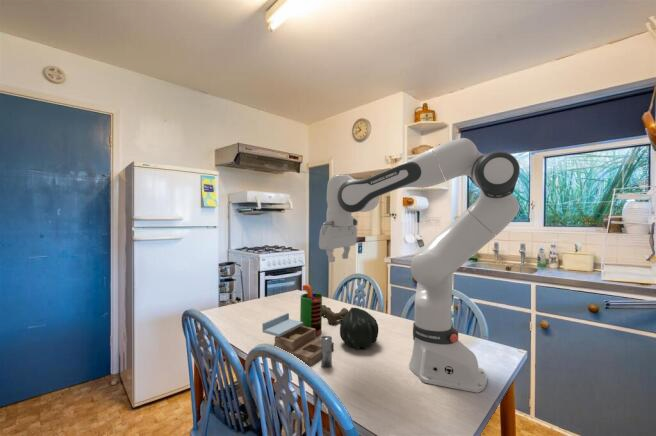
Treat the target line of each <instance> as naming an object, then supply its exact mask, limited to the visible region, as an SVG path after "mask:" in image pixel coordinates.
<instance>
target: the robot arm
mask: <svg viewBox="0 0 656 436" xmlns="http://www.w3.org/2000/svg"><path fill="white" fill-rule="evenodd" d="M520 169H521V168H520V164H519V161H518V160H517V158H516V157H515V156H514V155H513V154H511V153H508V152H506V151H503V150H495V151H494V150H493V151H491V152H489V153H483V152H482V153H481V152H480V150H478V147H477V145H476V144H475V143H474V142H473V141H472V140H471V139H469V138H466V137H462V138H457V139H453V140H449V141H446V142H444V143H441V144H439V145H436V146H434V147H432V148H428V149H427V150H425V151H423V152H421V153H419V154H418V155H416V156H414V157H413V158H410V159H409V160H407V161H405V162H403V163H400V164H399V165H397V166H395V167H392V168H390V169H387V170H385V171H382V172H379V173H377V174H374V175H373V176H370V177H367V178H363V179H356V178H355V179H354V178H353V177H352V176H350V175H349V174H347V173H343V174H337V175H332V176H331V177H330V178H329V179H328V181H327V187H326V204H327V209H326V216H325V217H326V220H325V221H324V222H323V223H322V225H321V228H320V229H319V238H318V248H319V250H324V251H325V253H326V255H327V262H328V263H335V261H336V260H335V259H336V257H335V256H334V254H333V253H334V249H341V248H343V253H342V254H341V257H342V259H343V260H347V259H349V253H350V250H351V247H352V246H355V245H356V244H357V236H358V230H357V229H358V228H357V226H358V219H357V218H355V217H354V216H353V215H352V213H357V212H358V213H359V212H360V213H363V212H364V213H367V212H370V211H372V210H374V209H375V208H376V207H378V204H379V201H380V196H383V195H385V194H389V193H391V192H394V191H397V190H399V189H403V188H419V189H420V188H421V189H424V188H428V187H434V186H437V185H440V184H443V183H445V182H448V181H450V180H452V179H455V178H458V177H461V176H466V177H467V178H469V180H470V181H471V183H473V185H474V186H476V187H477V188H478V189H479V190H480V192H479V193H480V194H479V196H478V198H477V199H476V200H475V202H473V203H472V205H470V206H469V207H468V208H467V209H466V210H464V212H462V213H461V214H460V215H459V216H458V217H456V219H454V220H453V222H451V223H450V224H449V225H448V226H447V227H446V228H445V229H443V230H442V231H441V232H440V233H438V234H437V235H436V236H435V237H434V238H433V239H432V240H430V241H429V242H428V243H426V245H425V246H424V247H423V248H421V249H420V250H419V251H418V252H416V254H415V255H414V256H413V257H412V260H411V262H410V273H411V276H412V278H413V279H414V280H415V281H416V282H417V283H416V291H415V294H414V296H415V297H414V322H413V323H412V336H413V337H412V339H413V348H412V355H411V358H410V361H409V365H408V366H409V369H410V370H411V371H412V373H414V374H415V375H416V376H417V377H418V378H419V379H420V381H421V382H422V383H424V384H425V383H426V384H430V385H434V386H441V387H446V388H451V389H455V390H461V391H466V392H471V393H472V392H473V393H480V392H482V391H485V389H486V387H487V383H488V376H487V373H486V371H485V370H484V369H482V368H481V367H479V363H478V359H477V357H476V355H475V353H474V352H473V351H472V350H470V349H469V347H467V346H465V345H464V344H463V343H462V341H460V340H459V328H458V327H457V328H456V329H455V328H454V326H452V298H453V297H452V296H453V295H452V294H453V282H454V281H453V278H454V277H453V276H454V273H455V272H456V271H457V270H458V269H460V267H462V266H463V265H464V264H465V263H466V262H468V261H469V260H470V259H471V258H472V257H473V256H474V255H475V254H476V253H477V252H479V251H480V250H481V249H483V247H485V246H486V245H487V244H488V243H490V242H491V241H492V240H493V239H494V238H496V237H497V236H498V235H499V234H500V233H501V232H502V231H503V230H504V229H506V228H507V227H508V226H509V225H510V223H511V222H512V221H513V220H514V219H515V218H516V216H517V215H518V213H519V211H520V208H521V207H520V203H519V200H517V197H515V195H513V193H514V191H515V188H516V186H517V185H516V184H517V182H518V180H519V176H520Z"/></svg>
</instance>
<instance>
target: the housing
mask: <svg viewBox="0 0 656 436" xmlns="http://www.w3.org/2000/svg"><path fill="white" fill-rule="evenodd" d="M275 346H277V347H279V348H281V349H283V350H285V351H287V352H289V353H291V354H293V355H294V356H296V357H297V358H299V359H300V360H302V361H303V362H305V363H306V364H305V365H307V366H309V367H310V366H313V365H314V364H316V363H317V362H318V361H320V360H321V338H317V337H316V329H314V328H310V327H306V326H300V327H298V328H296V329H294V330H292V331H290V332H288V333H286V334H284V335H282V336H280V337H277V336H274V347H275ZM334 347H335V346H334V342H332V351H334Z"/></svg>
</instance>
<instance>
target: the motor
mask: <svg viewBox="0 0 656 436" xmlns="http://www.w3.org/2000/svg"><path fill="white" fill-rule="evenodd" d="M302 291H306V293H302V294H301V295H300V305H299V306H300V308H299V309H300V310H299V311H300V313H299V314H300V315H299V317H300V319H299V321H300V322H303V325H302V326H306V327H310V328H314V329H316V338H317V337H319V335H320V336H321V335H322V326H323V325H322V324H323V323H322V322H323V321H322V318H323V317H322V316H323V315H322V305H323V294H322V293H319V292H313V291H312V286H311V285H310V284H303V285H302Z"/></svg>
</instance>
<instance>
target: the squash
mask: <svg viewBox="0 0 656 436" xmlns="http://www.w3.org/2000/svg"><path fill="white" fill-rule="evenodd" d="M348 311H349V312H348V313H347V314H346V315H345V317H344V318H343V320H341V322H340V326H339V337H340V339H341V340H342V341H343V342H344V343H345V345H346V346H347V347H351V348H352V347H354V348H355V349H356V350H359V349H361V348H362V349H364V350H365V349H369V347H370V346H371V345H374V344H375V343H377V340H378V337H379V330H380V329H379V324H378V322H377V320H376V318H374V316H372V315H371V314H370V313H369V312H367V311H366V310H364V309H360V308H359V307H351V308H350V309H348Z"/></svg>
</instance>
